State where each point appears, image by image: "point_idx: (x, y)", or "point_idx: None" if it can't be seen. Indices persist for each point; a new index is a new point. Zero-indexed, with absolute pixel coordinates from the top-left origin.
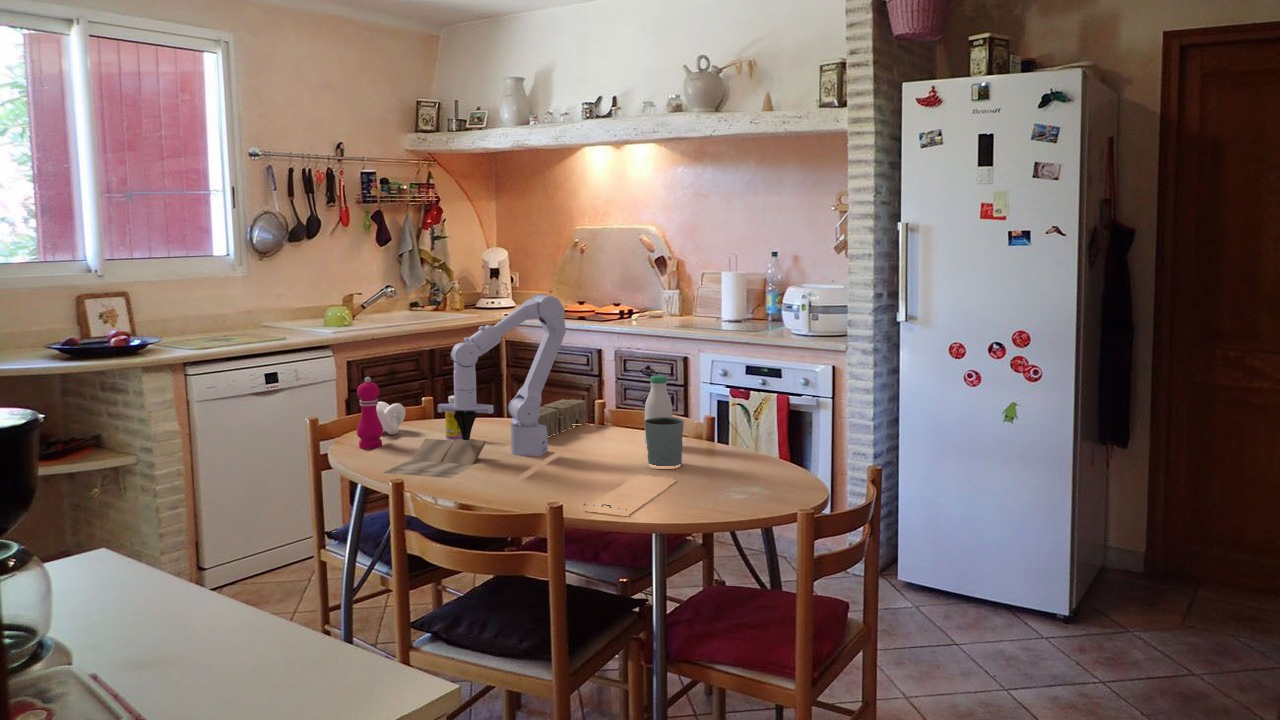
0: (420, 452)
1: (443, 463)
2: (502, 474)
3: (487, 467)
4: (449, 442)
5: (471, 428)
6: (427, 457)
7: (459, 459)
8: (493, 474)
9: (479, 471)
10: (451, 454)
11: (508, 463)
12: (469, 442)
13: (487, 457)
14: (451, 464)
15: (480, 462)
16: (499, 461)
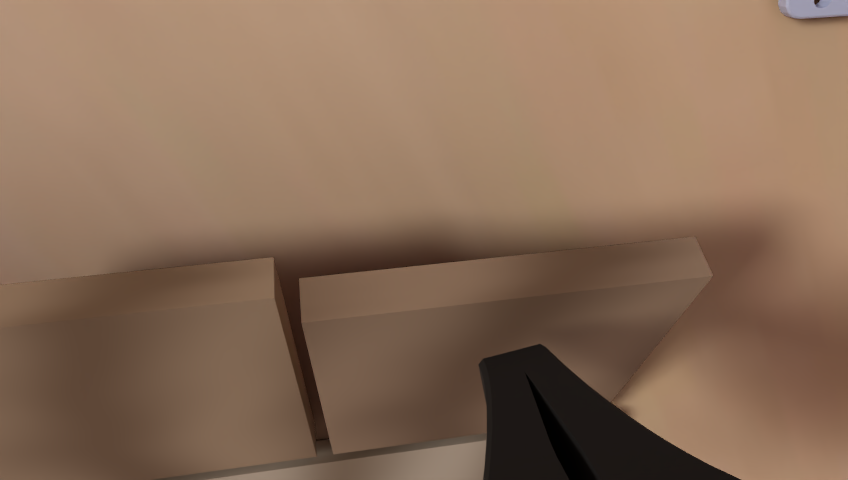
0: (14, 452)
1: (365, 475)
2: (833, 432)
3: (690, 335)
4: (233, 327)
5: (619, 420)
6: (152, 460)
7: (477, 420)
8: (776, 452)
9: (665, 434)
10: (375, 413)
11: (828, 175)
12: (523, 319)
13: (579, 38)
14: (442, 471)
15: (583, 230)
16: (737, 141)
